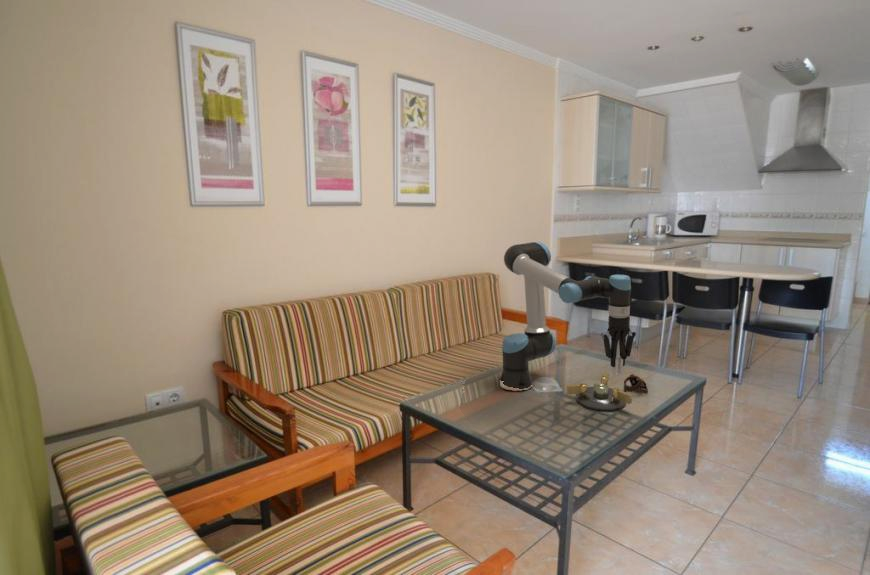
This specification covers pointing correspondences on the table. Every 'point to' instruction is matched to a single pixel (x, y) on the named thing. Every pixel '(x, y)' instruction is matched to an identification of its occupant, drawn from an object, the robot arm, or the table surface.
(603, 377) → the knob
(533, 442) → the table surface
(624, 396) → the knob
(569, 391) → the knob
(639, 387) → the brown animal skull
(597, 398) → the tribrach
